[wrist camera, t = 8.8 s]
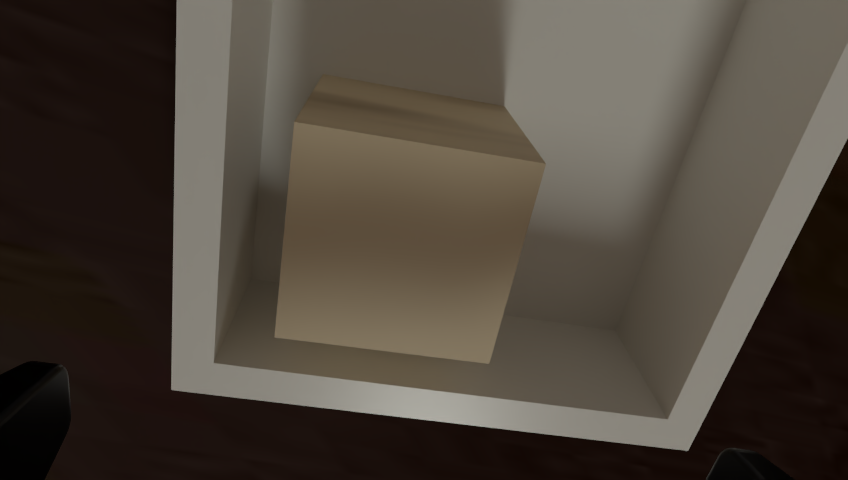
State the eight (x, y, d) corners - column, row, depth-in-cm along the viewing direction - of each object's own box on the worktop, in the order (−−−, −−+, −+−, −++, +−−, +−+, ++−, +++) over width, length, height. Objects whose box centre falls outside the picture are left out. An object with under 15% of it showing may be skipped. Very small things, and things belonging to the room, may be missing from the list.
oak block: (466, 264, 18) (489, 363, 14) (304, 240, 18) (274, 337, 13) (504, 106, 16) (545, 163, 12) (322, 73, 16) (294, 121, 11)
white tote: (625, 344, 21) (688, 450, 17) (223, 288, 19) (171, 390, 15) (887, -297, 14) (1134, -423, 9) (266, -482, 12) (187, -750, 7)
